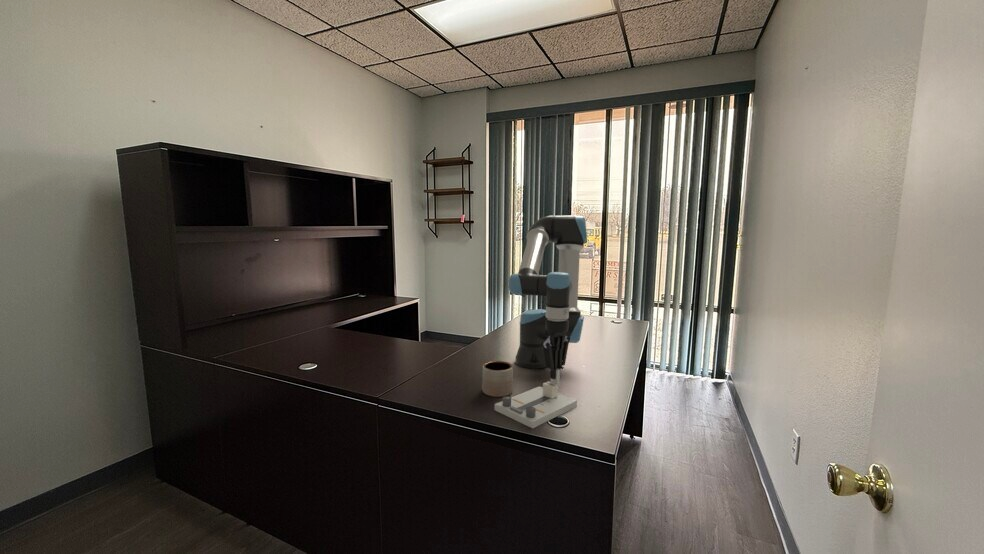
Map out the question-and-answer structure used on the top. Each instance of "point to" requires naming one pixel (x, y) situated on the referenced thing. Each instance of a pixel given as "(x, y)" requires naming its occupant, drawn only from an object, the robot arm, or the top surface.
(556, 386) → the fader
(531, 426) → the console
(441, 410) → the top surface
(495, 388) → the planter
